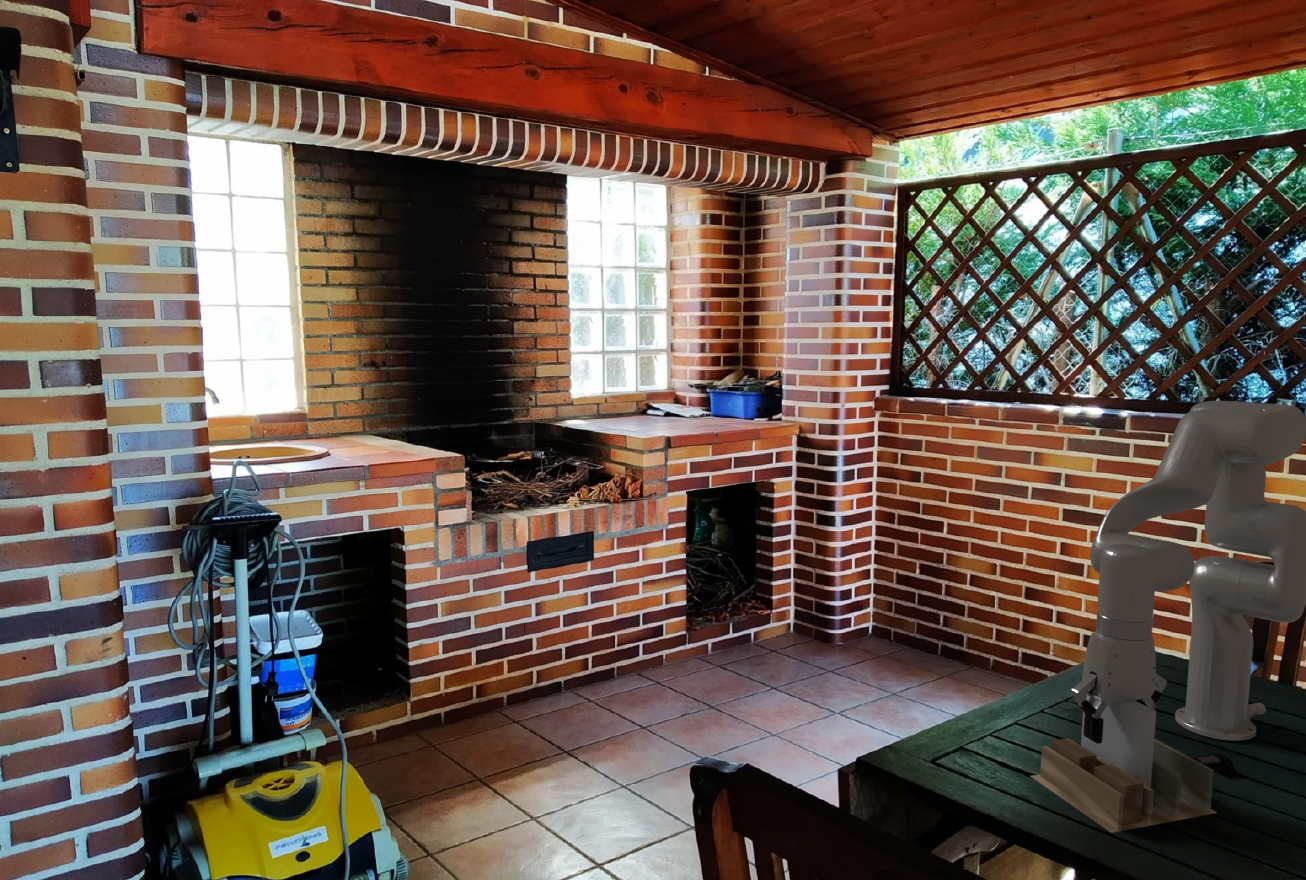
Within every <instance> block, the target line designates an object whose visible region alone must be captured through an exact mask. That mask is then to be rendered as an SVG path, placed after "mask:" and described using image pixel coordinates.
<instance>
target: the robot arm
mask: <svg viewBox="0 0 1306 880" xmlns="http://www.w3.org/2000/svg"><path fill="white" fill-rule="evenodd" d="M1305 440H1306V416H1305V413H1304V412H1303V411H1302V410H1301V409H1300V408H1298V407H1297V406H1294V405H1291V404H1280V403H1265V402H1262V403H1261V402H1248V401H1232V400H1210V401H1209V400H1207V401H1202V402H1198V403H1196V404H1193V406H1192V407H1191V408H1190V410H1189V412H1187V413H1185V414H1184V415H1183V416H1182V417H1181V418H1180V420H1179V422H1178V423H1177V425H1176V428H1175V430H1174V432H1173V434H1172V436H1171V438H1170V441H1169V443H1168V446H1167V448H1166V450H1165V452H1164V454H1163V457H1162V459H1161V461H1160V464H1159V466H1158V468H1157V470H1156V472H1155V475H1154V477H1153V478H1152V479H1150V480H1148V481H1146V482H1144V483H1143V484H1141V485H1139V486H1137V487H1135V488H1133V489H1132V490H1131V491H1129V492H1127V493H1126V494H1124V495H1123V496H1121V497H1120V498H1119V499H1118V500H1117V501H1115V502H1114V503H1113V504H1112V505H1111V506H1110V507H1109V509H1108V510H1107V511H1106V513H1105V515H1104V516H1103V517H1102V520H1101V523H1100V524H1099V527H1098V528H1097V531H1096V533H1095V536H1094V538H1093V541H1092V544H1091V547H1090V553H1089V554H1090V555H1089V559H1090V564H1091V566H1092V568H1093V570H1094V571H1095V572H1096V573H1097V574H1099V578H1098V579H1099V580H1098V593H1097V595H1098V596H1097V607H1096V609H1097V610H1096V620H1095V621H1096V622H1095V623H1096V624H1095V632H1092V633H1091V634H1090V636H1089V640H1088V643H1087V647H1086V651H1085V657H1084V662H1083V668H1082V669H1083V670H1082V679H1081V681H1080V682H1079V683H1078V684H1076V685H1075V686H1074V687H1073V688H1071V692H1070V693H1071V695H1072V696H1073V699H1074V701H1075V704H1076V705H1077V706H1078V707H1079V708H1080V711H1081V712H1082V713H1083V712H1084V713H1085V717H1084V736H1085V737H1087V738H1088V739H1090V740H1092V741H1093V742H1095V743H1097V744H1100V743H1102V738H1103V722H1104V720H1103V719H1102V718H1101V717H1100V716H1101V714H1102V713H1103V711H1104V710H1105V708H1106V706H1107V705H1108V704H1112V703H1120V702H1125V701H1132V700H1135V701H1137V702H1139V703H1141V704H1143V705H1145V706H1147V707H1149V708H1151V709H1153V710H1155V709H1156V704H1157V702H1158V701H1159V700H1160V699H1161V697H1162V693H1163V692H1164V690H1165V688H1166V686H1167V684H1168V681H1167V680H1166V679H1165V678H1164V677H1162V676H1160V675H1159V674H1158V673H1157V661H1156V659H1157V658H1156V647H1155V646H1156V645H1155V639H1154V637H1153V626H1154V625H1155V623H1156V620H1155V617H1154V605H1155V594H1156V593H1155V592H1170V591H1174V590H1175V591H1177V590H1178V589H1181V588H1182V587H1184V586H1185V585H1186V584H1188V585H1189V592H1190V600H1191V633H1190V647H1189V658H1188V659H1189V660H1188V669H1187V670H1188V672H1187V674H1188V675H1187V686H1186V695H1185V696H1186V697H1185V698H1186V699H1185V707H1184V706H1183V707H1181V708H1178V709H1177V710H1176V711H1175V714H1174V719H1175V722H1176V723H1178V724H1179V726H1181V727H1182V728H1184V729H1185V730H1188V731H1189V732H1191V733H1195V734H1197V735H1200V736H1201V737H1202V736H1203V737H1207V738H1211V739H1215V740H1221V741H1228V742H1229V741H1230V742H1231V741H1232V742H1241V741H1250V740H1251V739H1253V738H1255V737H1256V735H1257V727H1256V726H1255V724H1254V723H1253V722H1252V721H1251V718H1252V717H1253V716H1255V715H1262V714H1263V715H1264V714H1265V713H1266V711H1267V710H1266V709H1267V708H1266V706H1265V704H1263V703H1262V702H1258V703H1256V702H1255V703H1251V704H1249V697H1250V696H1249V695H1250V683H1251V675H1252V674H1251V671H1252V664H1253V663H1252V661H1253V652H1254V651H1253V650H1254V649H1253V648H1254V637H1253V634H1252V631H1251V630H1252V629H1251V628H1250V626H1249V625H1248V622H1247V621H1246V620H1245V618H1244V616H1247V617H1248V616H1249V617H1253V618H1257V619H1262V620H1266V621H1272V622H1276V623H1283V624H1284V623H1285V624H1291V623H1294V622H1296V621H1298V620H1299V619H1300V618H1301V617H1302V616H1303V614H1304V611H1305V609H1306V608H1305V607H1306V510H1305V509H1304V508H1302V507H1299V506H1297V505H1293V504H1288V503H1280V502H1274V501H1273V502H1272V501H1267V500H1266V498H1265V494H1266V493H1265V490H1266V480H1267V471H1266V469H1265V467H1264V466H1268V465H1272V464H1274V463H1275V464H1276V463H1277V462H1279V461H1282V460H1284V459H1286V458H1289V457H1290V456H1293V455H1294V454H1295V453H1297V452H1298V451H1299V450H1300V449H1301V447H1302V446H1303V444H1304V442H1305ZM1202 506H1205V515H1204V517H1205V518H1204V535H1205V538H1206V541H1207V542H1208V543H1209V544H1210V545H1212V546H1213V547H1217V548H1219V549H1223V550H1228V551H1232V552H1236V553H1244V554H1247V555H1248V554H1249V555H1256V556H1259V557H1260V556H1261V557H1267V558H1270V559H1271V560H1272V562H1273V564H1268V563H1261V562H1258V561H1256V562H1255V561H1253V560H1247V559H1241V558H1235V557H1229V556H1222V555H1208V556H1204V557H1201V558H1198V559H1197V560H1196V561H1195V558H1194V556H1193V554H1192V552H1191V551H1190V549H1189V548H1187V547H1186V546H1184V545H1183V544H1180V543H1178V542H1176V541H1169V540H1164V539H1160V538H1159V539H1158V538H1154V537H1153V538H1152V537H1148V536H1143V535H1138V534H1131V533H1130V532H1131V531H1132V530H1133V529H1134V528H1136V527H1137V526H1138V525H1140V524H1142V523H1144V522H1146V521H1148V520H1151V519H1155V518H1158V517H1162V516H1167V515H1172V514H1175V513H1180V512H1185V511H1189V510H1193V509H1197V508H1200V507H1202ZM1086 694H1089V695H1088V697H1087V698H1086ZM1098 694H1100V697H1099V696H1098ZM1096 700H1097V701H1099V702H1098V704H1097V705H1096V707H1095V708H1094V707H1093V704H1094V702H1095V701H1096ZM1155 711H1156V710H1155Z"/></svg>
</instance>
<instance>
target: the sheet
mask: <svg viewBox="0 0 1306 880" xmlns="http://www.w3.org/2000/svg"><path fill="white" fill-rule="evenodd" d="M1088 695H1089V694H1086V698H1087V697H1088ZM1098 696H1099V697H1100V694H1098ZM1098 702H1099V701H1097V700H1096V701H1095V702H1094V704H1093V707H1094V708H1095V707H1096V705H1097V704H1098ZM1084 717H1085V713H1084V712H1082V721H1081V722H1082V723H1081V738H1080V739H1081V740H1080V741H1081V742H1080V745H1081V746H1083V747H1084V748H1086V749H1088V750H1089V751H1091V752H1093V753H1094V754H1096V755H1097V756H1098V757H1100V758H1101V759H1103V760H1105V761H1106V762H1108V763H1110V764H1113V765H1114V766H1116V767H1118V768H1119V769H1121V770H1123V771H1124V772H1126V773H1128V774H1129V775H1131V776H1133V777H1134V778H1136V779H1138V780H1139V781H1141V782H1143V783H1144V784H1145V785H1146V786H1148V787H1150V788H1151V777H1152V763H1153V749H1154V738H1155V734H1156V722H1157V711H1156V710H1153V709H1151V708H1149V707H1147V706H1145V705H1143V704H1141V703H1139V702H1137V701H1135V700H1132V701H1125V702H1120V703H1112V704H1108V705H1107V706H1106V708H1105V710H1104V711H1103V713H1102V714H1101V716H1100V717H1101V718H1102V719H1103V720H1104V722H1103V738H1102V743H1100V744H1097V743H1095V742H1093V741H1092V740H1090V739H1088V738H1087V737H1085V736H1084Z"/></svg>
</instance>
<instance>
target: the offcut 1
mask: <svg viewBox="0 0 1306 880" xmlns="http://www.w3.org/2000/svg"><path fill="white" fill-rule="evenodd" d="M1051 749H1052V750H1054V751H1055V752H1057V753H1058V754H1060V755H1062V756H1063V757H1065V758H1066V759H1068V760H1070V761H1071V762H1073V763H1074V764H1076V765H1077V766H1079V767H1081V768H1082V769H1084V770H1085V771H1087V772H1089V773H1090V774H1092V775H1093V776H1094V767H1096V760H1097V755H1096V754H1094V753H1093V752H1091V751H1089V750H1088V749H1086V748H1084V747H1083V746H1081V744H1079V743H1078V742H1076V741H1074V740H1073V739H1071V738H1069V737H1068V738H1067V737H1066V738H1061V739H1060V738H1059V739H1055V740H1051Z"/></svg>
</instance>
